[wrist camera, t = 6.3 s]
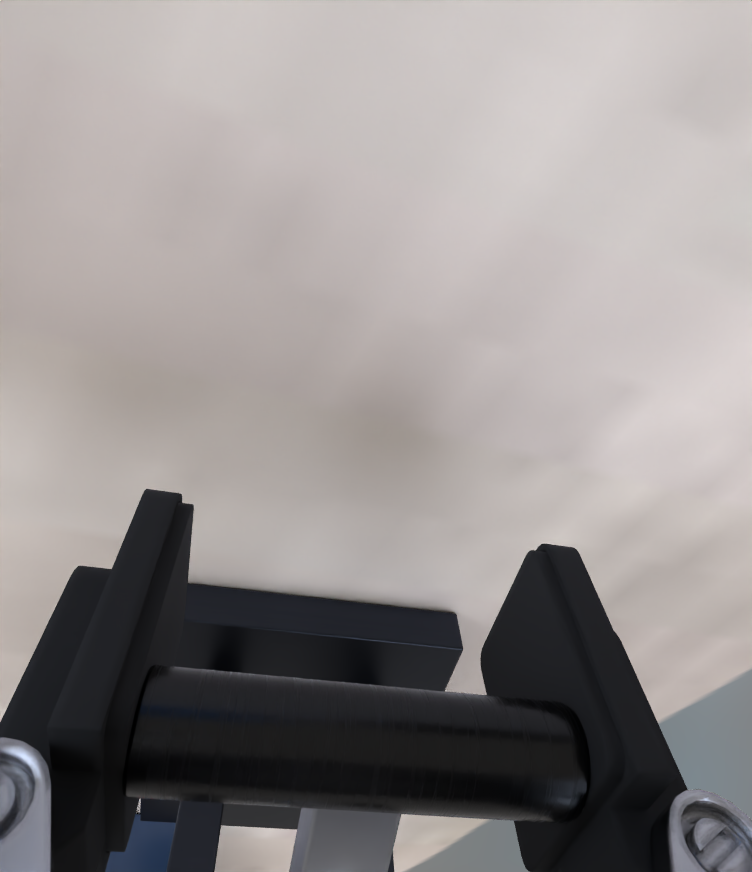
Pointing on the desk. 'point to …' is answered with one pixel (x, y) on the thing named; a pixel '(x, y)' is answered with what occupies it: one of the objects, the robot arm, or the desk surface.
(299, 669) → the bracket
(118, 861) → the button box
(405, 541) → the desk surface
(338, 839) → the lever
